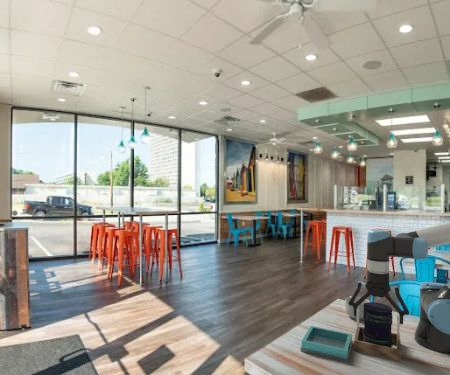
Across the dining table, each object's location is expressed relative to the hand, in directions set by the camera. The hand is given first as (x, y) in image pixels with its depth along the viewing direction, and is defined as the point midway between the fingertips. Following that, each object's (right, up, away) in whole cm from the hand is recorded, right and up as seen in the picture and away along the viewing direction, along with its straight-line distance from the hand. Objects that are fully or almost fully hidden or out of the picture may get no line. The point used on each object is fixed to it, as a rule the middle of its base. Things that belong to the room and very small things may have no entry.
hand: (377, 328), depth 117 cm
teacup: (+5, -8, +30) cm, 32 cm away
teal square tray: (-19, -6, -1) cm, 20 cm away
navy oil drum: (0, -7, 0) cm, 7 cm away
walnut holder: (0, -7, 0) cm, 7 cm away
